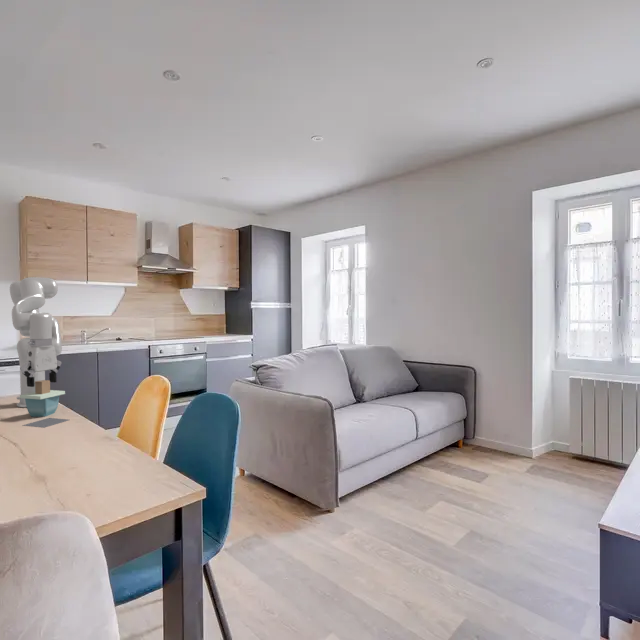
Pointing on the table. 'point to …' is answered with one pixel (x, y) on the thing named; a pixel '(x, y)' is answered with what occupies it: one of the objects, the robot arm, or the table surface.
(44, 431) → the table surface
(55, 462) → the table surface
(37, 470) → the table surface
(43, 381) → the lid
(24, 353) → the robot arm
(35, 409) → the flower pot
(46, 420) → the mat
